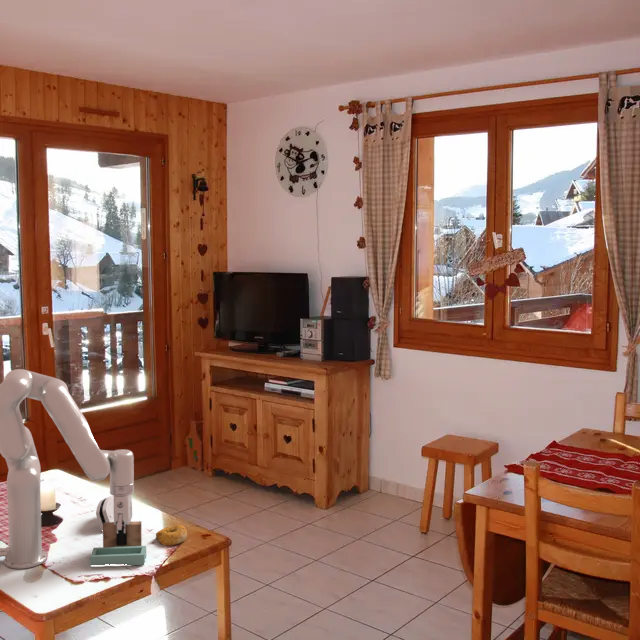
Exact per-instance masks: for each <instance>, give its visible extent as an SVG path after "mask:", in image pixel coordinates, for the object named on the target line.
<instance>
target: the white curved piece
mask: <svg viewBox="0 0 640 640" xmlns="http://www.w3.org/2000/svg"><path fill="white" fill-rule="evenodd" d="M95 511H96V512H95V516H96V518H97V522H98V525H99V527H100V531H101V530H103V524H104V522H114V496H113V495H111V496H107V497H105V498H103V499H102V500H100V501H99V503H98V504H97V506H96V510H95Z"/></svg>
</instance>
